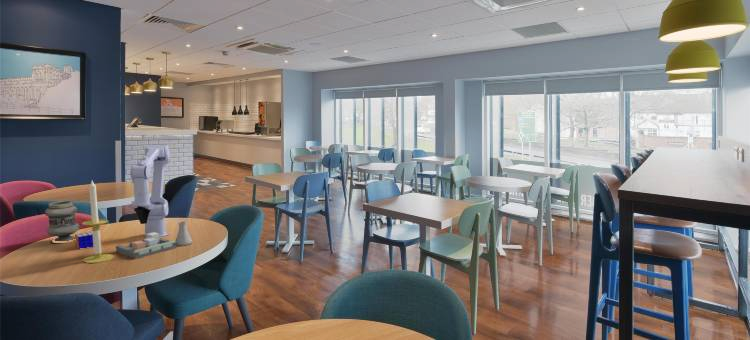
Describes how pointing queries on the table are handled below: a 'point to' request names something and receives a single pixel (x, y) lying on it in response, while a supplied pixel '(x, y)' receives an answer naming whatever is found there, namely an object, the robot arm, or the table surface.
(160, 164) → the robot arm
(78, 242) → the rubik's cube
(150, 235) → the pale grey square block
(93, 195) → the candle
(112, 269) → the table surface
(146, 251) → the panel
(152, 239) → the pale blue tilted box
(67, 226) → the apothecary jar
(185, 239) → the flask
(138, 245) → the clay pink cube
